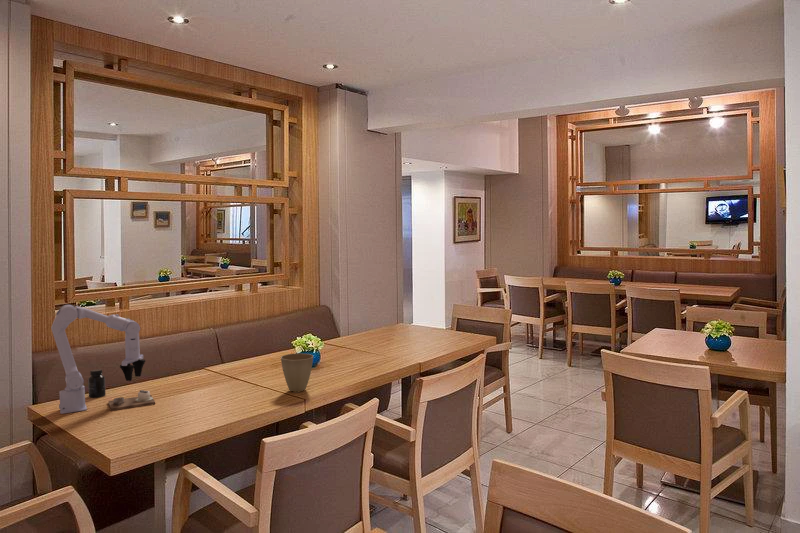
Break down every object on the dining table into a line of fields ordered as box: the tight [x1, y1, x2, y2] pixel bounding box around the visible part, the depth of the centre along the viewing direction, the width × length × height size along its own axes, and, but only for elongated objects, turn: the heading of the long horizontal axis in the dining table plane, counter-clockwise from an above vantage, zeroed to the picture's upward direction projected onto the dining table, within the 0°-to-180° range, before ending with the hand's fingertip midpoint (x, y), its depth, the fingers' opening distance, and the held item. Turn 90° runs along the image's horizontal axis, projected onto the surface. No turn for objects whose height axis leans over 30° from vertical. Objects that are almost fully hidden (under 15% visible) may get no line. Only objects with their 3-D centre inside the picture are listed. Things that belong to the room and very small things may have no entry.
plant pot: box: [280, 353, 314, 392], centre depth 259 cm, size 15×15×16 cm
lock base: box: [108, 394, 156, 412], centre depth 241 cm, size 17×13×3 cm
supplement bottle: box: [87, 368, 107, 399], centre depth 253 cm, size 7×7×12 cm
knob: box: [137, 389, 151, 401], centre depth 244 cm, size 5×5×4 cm
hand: (133, 378), depth 246 cm, fingers open, 7 cm apart
